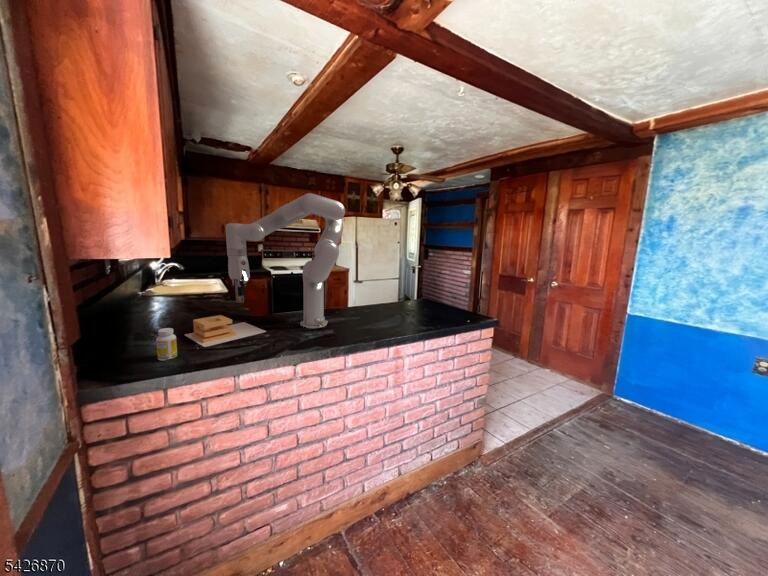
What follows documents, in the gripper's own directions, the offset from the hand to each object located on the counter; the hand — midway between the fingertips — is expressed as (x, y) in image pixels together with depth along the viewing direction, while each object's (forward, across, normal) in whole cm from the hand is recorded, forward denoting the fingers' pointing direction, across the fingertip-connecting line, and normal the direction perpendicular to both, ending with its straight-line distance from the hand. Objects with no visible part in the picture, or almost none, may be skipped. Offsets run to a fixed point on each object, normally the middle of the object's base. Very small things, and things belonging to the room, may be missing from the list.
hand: (239, 294), depth 135 cm
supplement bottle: (+17, -10, +32) cm, 37 cm away
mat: (+17, 0, +7) cm, 18 cm away
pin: (+3, 0, 0) cm, 3 cm away
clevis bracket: (+16, 0, +12) cm, 20 cm away
